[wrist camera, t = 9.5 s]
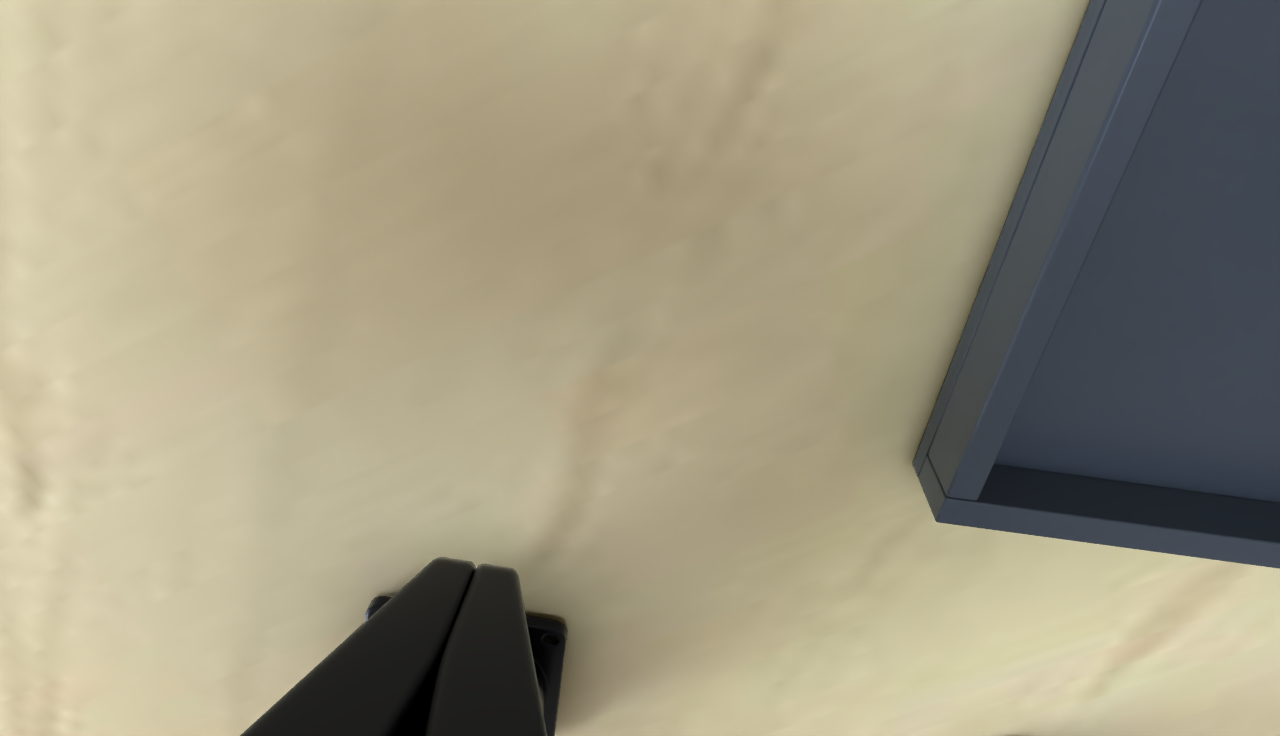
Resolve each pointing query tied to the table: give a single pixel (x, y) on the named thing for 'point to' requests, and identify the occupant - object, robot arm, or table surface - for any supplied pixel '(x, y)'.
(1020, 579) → the table surface
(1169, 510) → the tray
